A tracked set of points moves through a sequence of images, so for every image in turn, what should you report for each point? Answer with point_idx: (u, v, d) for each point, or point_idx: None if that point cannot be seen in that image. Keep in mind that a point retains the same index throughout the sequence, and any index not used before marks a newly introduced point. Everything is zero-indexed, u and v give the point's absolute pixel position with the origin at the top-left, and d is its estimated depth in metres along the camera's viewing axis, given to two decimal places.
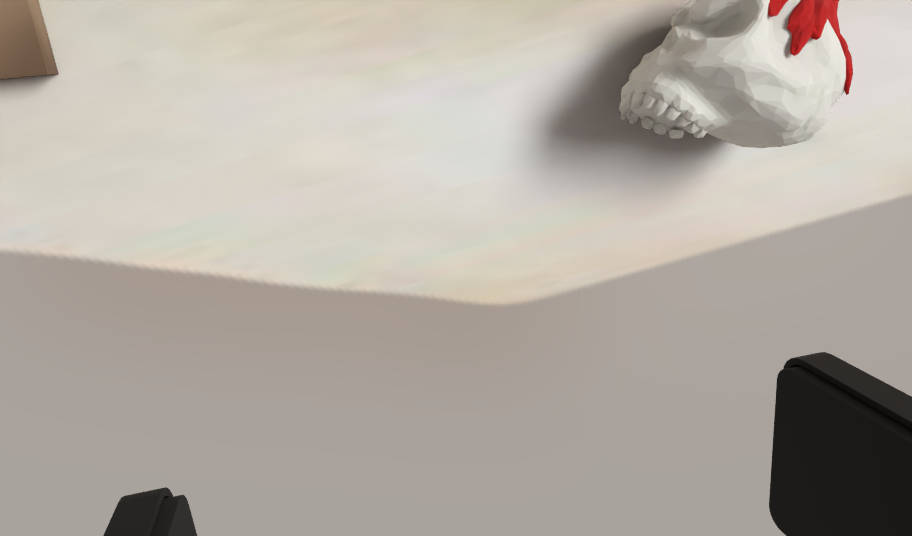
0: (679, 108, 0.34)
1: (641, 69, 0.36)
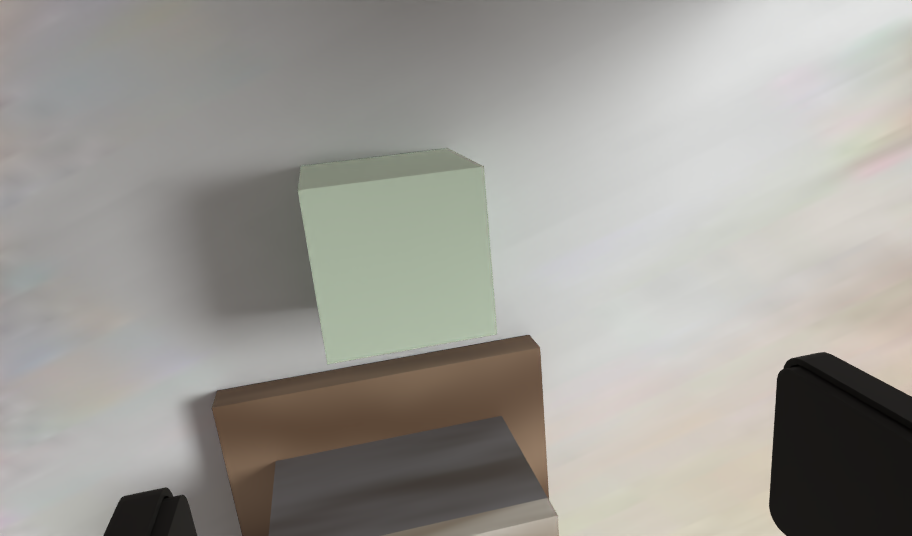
0: None
1: None
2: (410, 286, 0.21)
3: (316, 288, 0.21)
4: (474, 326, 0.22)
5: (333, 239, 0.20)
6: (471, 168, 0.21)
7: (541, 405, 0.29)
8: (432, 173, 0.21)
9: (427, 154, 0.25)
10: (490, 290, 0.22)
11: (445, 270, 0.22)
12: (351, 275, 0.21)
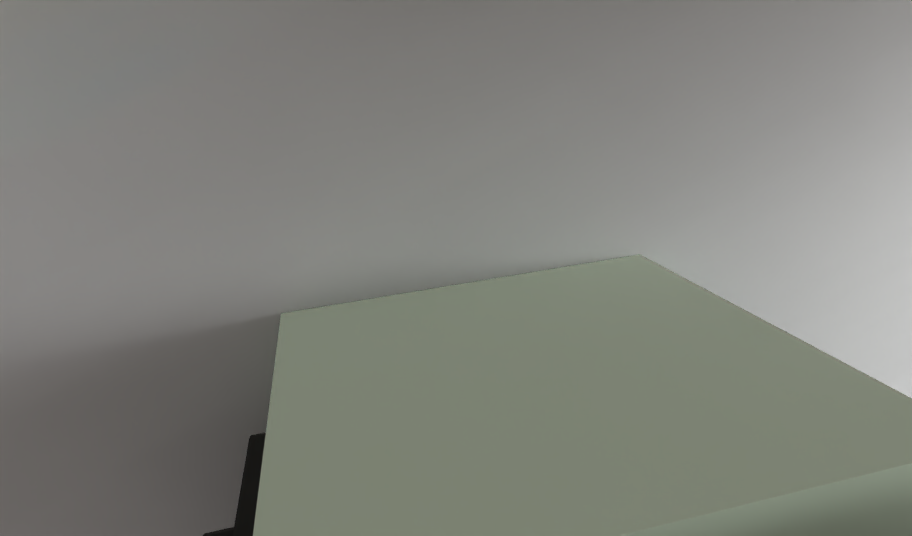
0: None
1: None
2: None
3: None
4: None
5: None
6: None
7: None
8: (808, 486, 0.05)
9: (616, 287, 0.09)
10: None
11: None
12: None
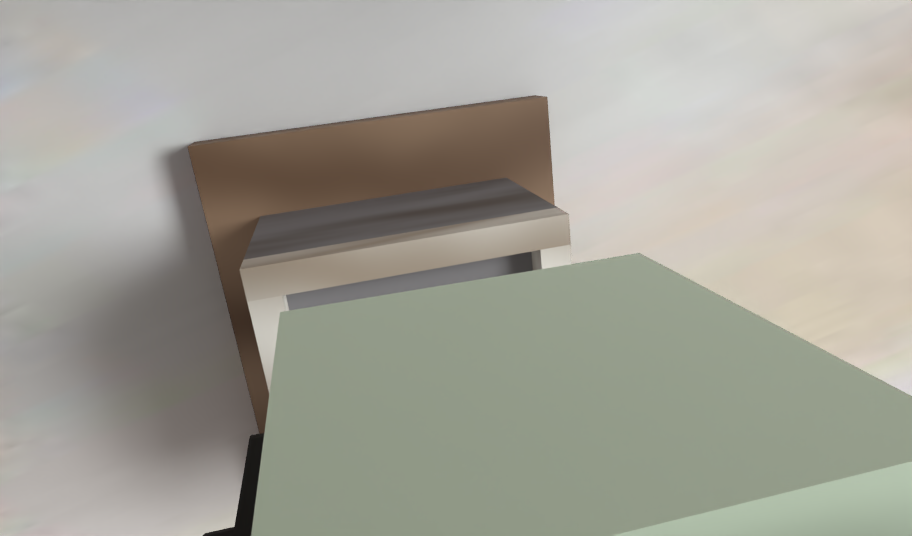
0: None
1: None
2: None
3: None
4: None
5: None
6: None
7: (549, 168, 0.27)
8: (809, 484, 0.05)
9: (616, 286, 0.09)
10: None
11: None
12: None
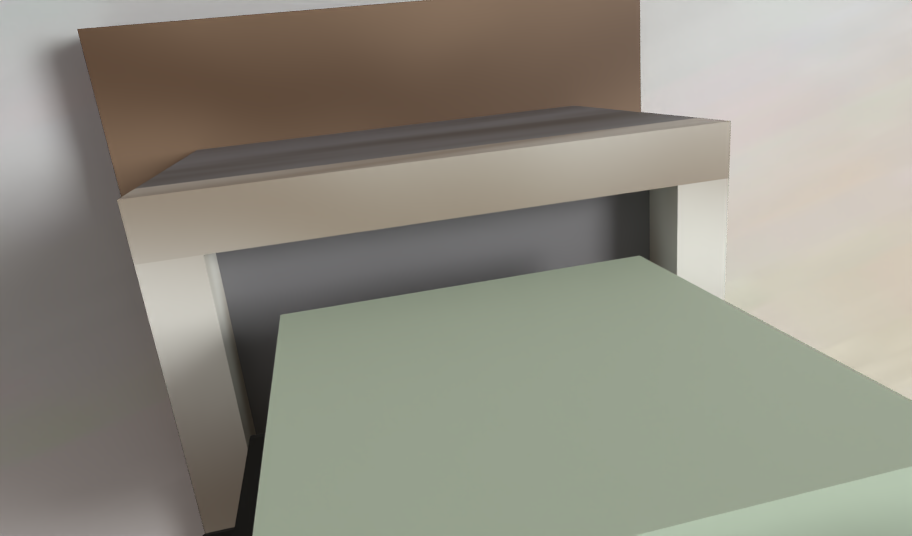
0: None
1: None
2: None
3: None
4: None
5: None
6: None
7: (637, 93, 0.18)
8: (809, 489, 0.05)
9: (616, 288, 0.09)
10: None
11: None
12: None
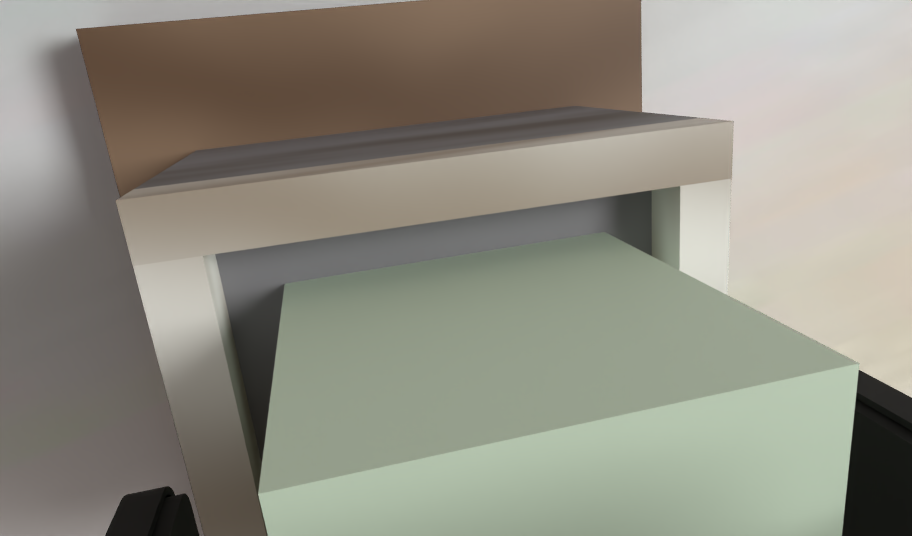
0: None
1: None
2: None
3: None
4: None
5: None
6: (822, 371, 0.06)
7: (638, 94, 0.18)
8: (706, 395, 0.06)
9: (579, 258, 0.11)
10: None
11: None
12: None
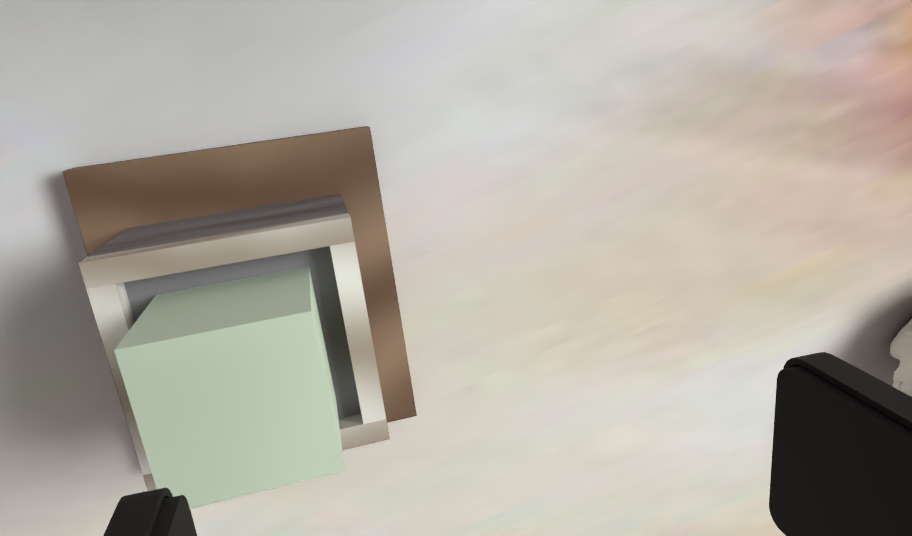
0: None
1: None
2: (245, 432, 0.21)
3: (144, 443, 0.20)
4: (319, 465, 0.22)
5: (158, 394, 0.20)
6: (298, 313, 0.20)
7: (377, 185, 0.32)
8: (257, 321, 0.20)
9: (282, 279, 0.25)
10: (332, 429, 0.22)
11: (282, 414, 0.21)
12: (181, 427, 0.20)
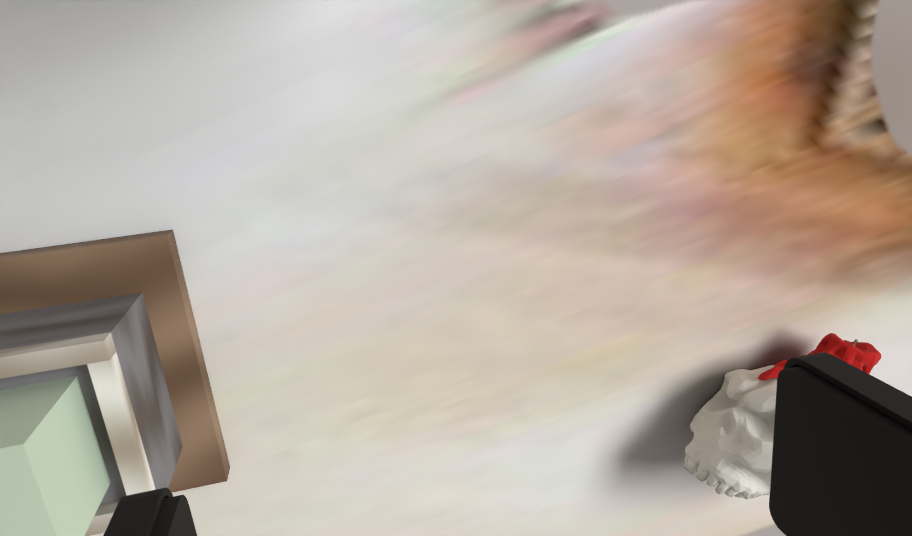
0: (739, 491, 0.42)
1: (704, 441, 0.44)
2: None
3: None
4: None
5: None
6: (12, 446, 0.25)
7: (177, 285, 0.36)
8: None
9: (41, 393, 0.29)
10: (53, 535, 0.26)
11: (5, 524, 0.25)
12: None
